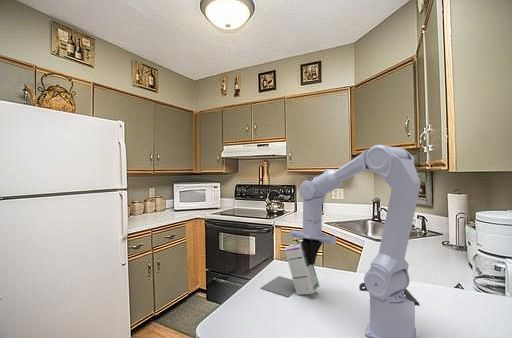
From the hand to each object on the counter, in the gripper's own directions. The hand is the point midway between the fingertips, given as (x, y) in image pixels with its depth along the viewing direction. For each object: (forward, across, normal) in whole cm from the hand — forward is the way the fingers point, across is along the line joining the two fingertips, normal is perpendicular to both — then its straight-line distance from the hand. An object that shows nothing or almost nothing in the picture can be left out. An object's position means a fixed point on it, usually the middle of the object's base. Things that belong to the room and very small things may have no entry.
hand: (311, 263), depth 80 cm
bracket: (+10, +18, +16) cm, 26 cm away
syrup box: (+9, -1, 0) cm, 9 cm away
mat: (+10, -10, 0) cm, 14 cm away
